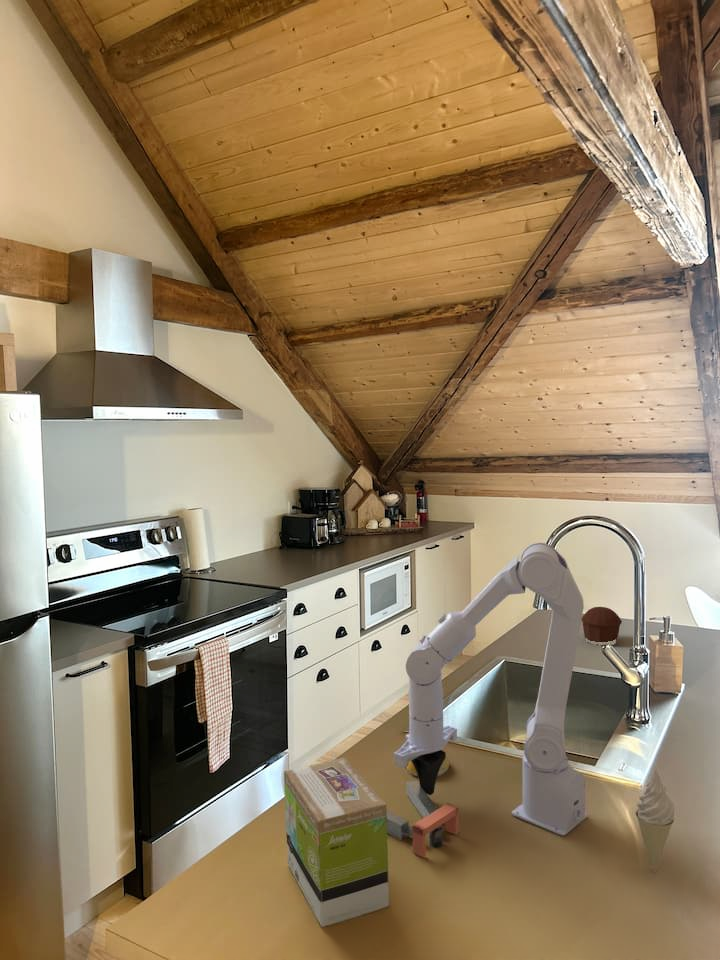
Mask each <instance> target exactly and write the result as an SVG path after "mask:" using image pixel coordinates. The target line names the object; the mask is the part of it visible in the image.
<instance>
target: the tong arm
mask: <svg viewBox="0 0 720 960" xmlns="http://www.w3.org/2000/svg"><path fill="white" fill-rule="evenodd" d="M406 795H407V797H408V798H409V800H410V801H411V803H412V804H413V805H414V807H415V808H416V810H417V811H418V812H419V814H420V816H422V819H423V818H425V817H426V816H428V815H429V814H431V813H433V812H434V811H436V810H437V809H439V808H438V807H437V805H435V803H434V802H433V800H432V799H431V798H430V795H428V794H426V793H425V791H424V790H423V789H422V787H421V786H420V782H418V781H417V780H413V781H407V782H406ZM440 826H441V827H442V828H443V825H440ZM443 829H444V828H443Z"/></svg>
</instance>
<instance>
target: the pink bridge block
mask: <svg viewBox="0 0 720 960" xmlns="http://www.w3.org/2000/svg"><path fill="white" fill-rule="evenodd" d="M443 824H445V831H447V832H448V833H451V834H453V835H456V836H457V835H458V834H459V807H458V806H456V805H453V804H451V803H449V802H447V803H445V804H444V805H443V806H440V807H439V808H438V809H437V810H436V811H434V812H433V813H431V814H429V815H428V816H426V817H425V818H423V817H422V819H420V820H418V821H416V822H415V823H413V824H412V827H413V837H412V853H414V854H416V855H418V856H419V857H422V858H425V857H426V856H427V837H426V836H427V835H428V834H429V832H431V831H432V830H434V829H435V828H437V827H439V826H440V825H441V826H443Z"/></svg>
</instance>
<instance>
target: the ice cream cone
mask: <svg viewBox="0 0 720 960" xmlns="http://www.w3.org/2000/svg"><path fill="white" fill-rule="evenodd" d="M646 787H647V788H646V790H645V791H644V792H643V795H641V796H639V797H638V798H639V800H640V801H641V802H637V805H636V806H637V807H638V808H637V809H636V811H635V816H636V818H637V821H638V825H639V830H640V832H641V835H642V836H641V837H642V839H643V843H644V846H645V850H646V854H647V857H648V861H649V865H650V867H651V868H650V869H651V871H652V872H654V873H655V872H657V869H658V866H659V863H660V862H661V861H660V860H661V858H662V856H663V852H664V848H665V845H666V843H667V839H668V837H669V833H670V830H671V828H672V825H673V823H674V822H675V821H674V820H675V819H674V818H675V817H674V816H675V805H674V803H673V801H672V799H670V797H669V796H668V795H667V790H666V789H667V788H666V786H664V784H663V782H662V780H661V777H660V775H659V772H658V770H657V768H656V769H655V770H654V773H653V775H652V777H651V779H650V780H649V782H648V783H647V784H646Z"/></svg>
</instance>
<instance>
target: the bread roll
mask: <svg viewBox="0 0 720 960" xmlns="http://www.w3.org/2000/svg"><path fill="white" fill-rule="evenodd" d="M449 766H450V760H449V758H448V757H447V755H446V758H445V760H444V761H443V763H442V765H441V767H440V769H439V772H438V775H437V777H440V776H442V775H444V774H445V773H446V772H447V771H448V770H449ZM405 767H406V769H407V771H408V772H409V773H410V774H411V776H415V777H418V775H417V772H416V769H415V767H414V765H413V763H412V762H411V761H409V762H407V766H405Z"/></svg>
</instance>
